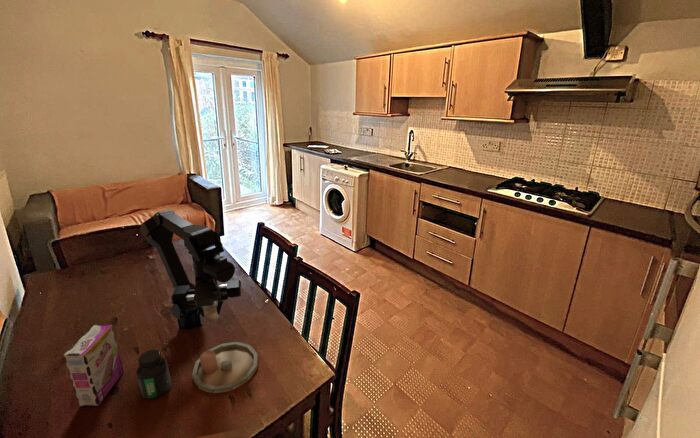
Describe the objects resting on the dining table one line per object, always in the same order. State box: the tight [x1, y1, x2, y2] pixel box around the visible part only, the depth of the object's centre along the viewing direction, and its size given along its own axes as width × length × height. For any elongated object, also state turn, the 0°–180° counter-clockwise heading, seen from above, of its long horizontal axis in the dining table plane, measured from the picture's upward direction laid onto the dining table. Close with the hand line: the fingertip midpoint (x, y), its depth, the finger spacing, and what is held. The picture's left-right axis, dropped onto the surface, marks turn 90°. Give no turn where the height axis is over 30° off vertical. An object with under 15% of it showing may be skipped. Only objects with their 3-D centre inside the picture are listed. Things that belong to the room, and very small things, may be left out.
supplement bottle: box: [136, 348, 172, 401], centre depth 84 cm, size 7×7×12 cm
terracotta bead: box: [199, 349, 217, 375], centre depth 91 cm, size 4×4×5 cm
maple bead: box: [203, 301, 220, 323], centre depth 98 cm, size 4×4×5 cm
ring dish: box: [191, 341, 259, 394], centre depth 93 cm, size 17×17×2 cm
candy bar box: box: [63, 324, 124, 407], centre depth 83 cm, size 11×5×16 cm, turn 5°
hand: (211, 314), depth 99 cm, fingers closed on maple bead, 4 cm apart
